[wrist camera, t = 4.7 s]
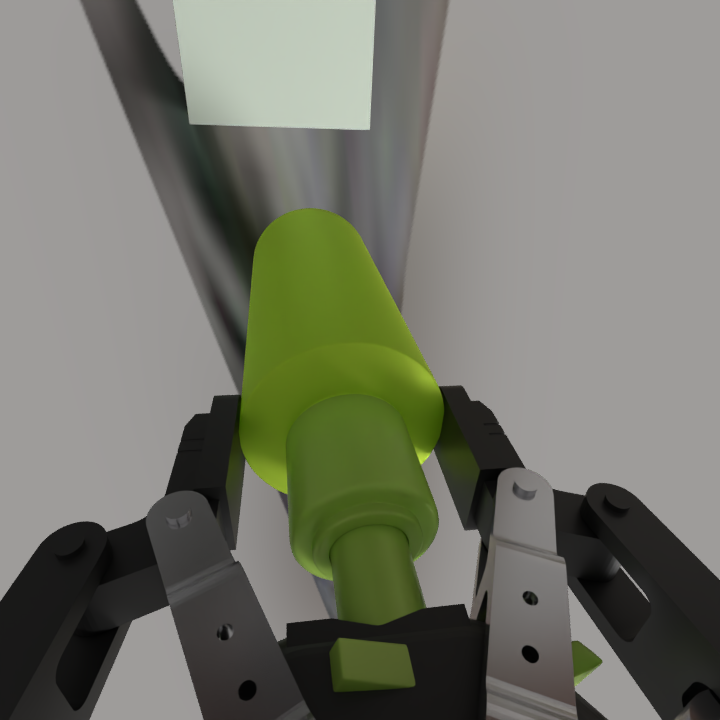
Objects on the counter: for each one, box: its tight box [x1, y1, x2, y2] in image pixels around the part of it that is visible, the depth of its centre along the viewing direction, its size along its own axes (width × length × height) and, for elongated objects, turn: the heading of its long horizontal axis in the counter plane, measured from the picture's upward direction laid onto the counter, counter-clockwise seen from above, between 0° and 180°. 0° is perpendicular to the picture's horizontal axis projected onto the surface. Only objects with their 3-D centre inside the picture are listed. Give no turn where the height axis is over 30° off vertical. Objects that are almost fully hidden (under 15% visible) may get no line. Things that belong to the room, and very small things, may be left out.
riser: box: [173, 0, 376, 130], centre depth 27 cm, size 10×11×4 cm
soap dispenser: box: [239, 208, 602, 692], centre depth 16 cm, size 6×7×20 cm
